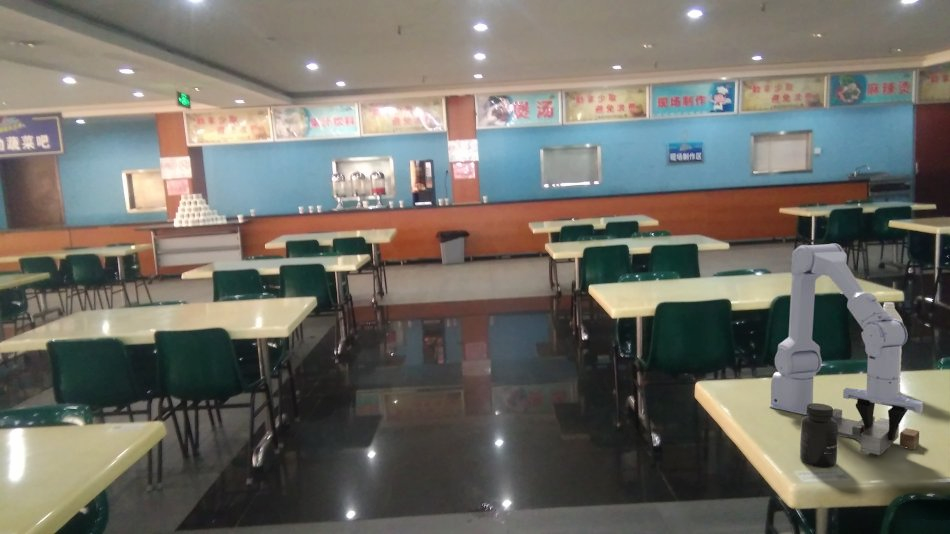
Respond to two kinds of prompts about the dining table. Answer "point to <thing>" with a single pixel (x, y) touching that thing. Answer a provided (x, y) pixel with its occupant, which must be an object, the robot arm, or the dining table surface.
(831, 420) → the supplement bottle
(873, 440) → the grey rectangular bar
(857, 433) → the block
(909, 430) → the wooden blocks
